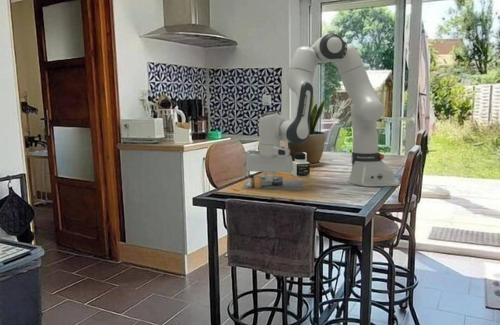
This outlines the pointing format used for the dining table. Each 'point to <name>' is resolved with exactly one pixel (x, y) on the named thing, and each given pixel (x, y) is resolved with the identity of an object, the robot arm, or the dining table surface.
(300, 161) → the medicine bottle
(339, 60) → the robot arm
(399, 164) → the dining table surface
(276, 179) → the crank
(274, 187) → the base plate
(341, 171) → the dining table surface
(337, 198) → the dining table surface
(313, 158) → the potted plant
